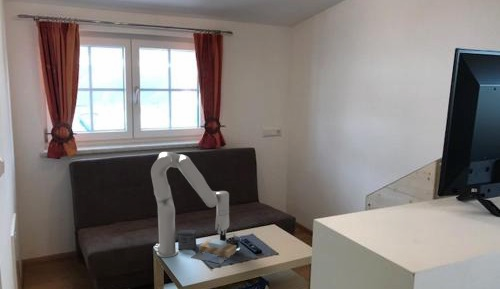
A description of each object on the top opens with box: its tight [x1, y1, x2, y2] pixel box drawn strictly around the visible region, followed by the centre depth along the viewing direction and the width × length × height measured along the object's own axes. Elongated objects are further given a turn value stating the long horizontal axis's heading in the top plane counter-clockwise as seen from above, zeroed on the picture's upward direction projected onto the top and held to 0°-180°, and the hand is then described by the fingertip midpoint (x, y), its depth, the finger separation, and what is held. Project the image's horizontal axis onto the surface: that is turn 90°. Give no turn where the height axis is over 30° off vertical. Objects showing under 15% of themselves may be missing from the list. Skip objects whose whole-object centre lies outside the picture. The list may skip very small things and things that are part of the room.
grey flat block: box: [208, 238, 227, 249], centre depth 234 cm, size 9×6×2 cm, turn 65°
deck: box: [198, 239, 237, 259], centre depth 235 cm, size 20×10×4 cm, turn 65°
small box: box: [177, 229, 197, 251], centre depth 240 cm, size 11×6×10 cm, turn 92°
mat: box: [190, 250, 229, 265], centre depth 227 cm, size 20×9×1 cm, turn 65°
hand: (222, 240), depth 240 cm, fingers closed
